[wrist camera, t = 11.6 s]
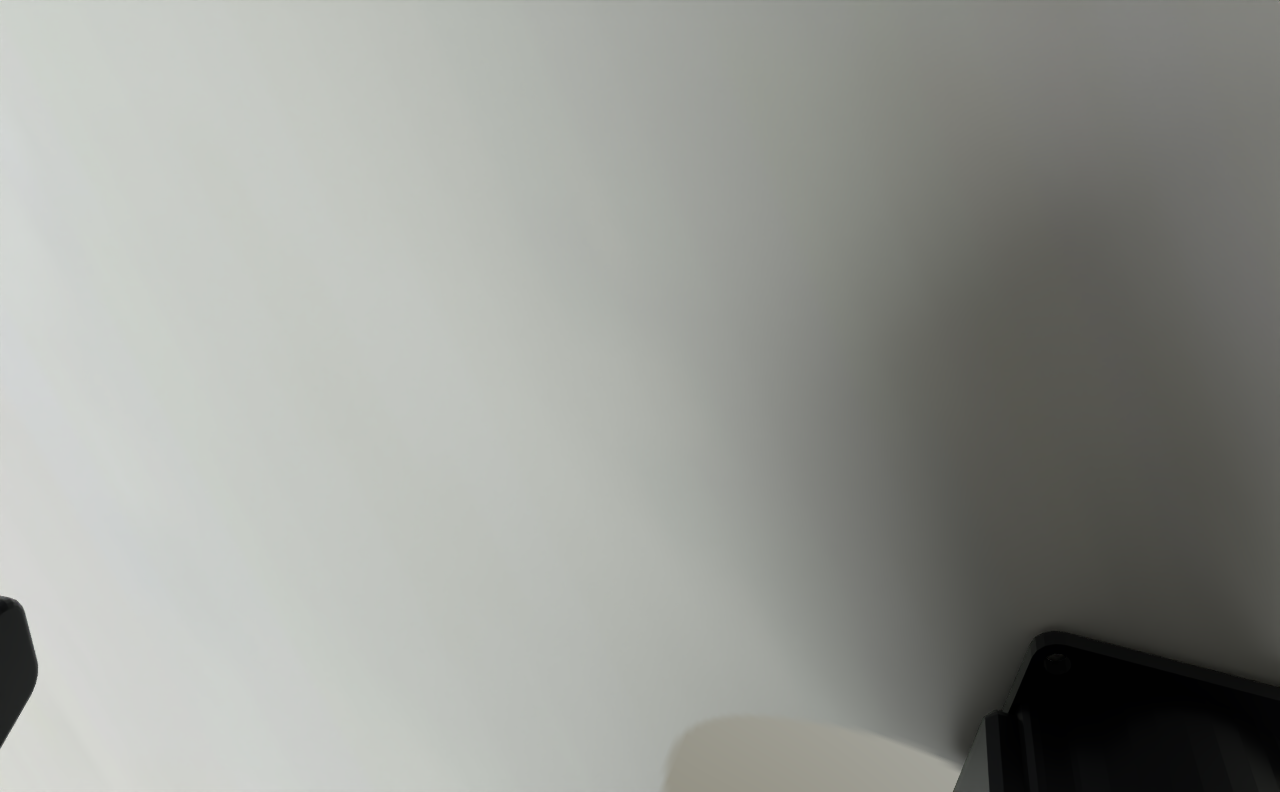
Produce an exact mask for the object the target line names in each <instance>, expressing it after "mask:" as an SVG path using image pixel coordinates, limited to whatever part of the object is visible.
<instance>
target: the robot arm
mask: <svg viewBox="0 0 1280 792" xmlns="http://www.w3.org/2000/svg"><path fill="white" fill-rule="evenodd" d="M1053 654H1062V655H1064V656H1066V658H1065V659H1063V660H1060V661H1051V660H1049V659H1047V657H1048V656H1050V655H1053ZM37 676H38V662H37V658H36V654H35V650H34V646H33V642H32V638H31V634H30V630H29V626H28V623H27V619H26V615H25V611H24V609H23V607H22V605H21V604H20V603H19V602H18V601H17V600H15V599H12V598H9V597H4V596H0V748H1V747H2V745H3V743H4V741H5V740H6V738H7V736H8V734H9V733H10V731H11V729H12V727H13V726H14V724H15V722H16V720H17V719H18V717H19V715H20V713H21V712H22V710H23V708H24V706H25V705H26V703H27V701H28V700H29V698H30V696H31V694H32V692H33V689H34V687H35V684H36V680H37ZM953 792H1280V688H1278V687H1274V686H1271V685H1267V684H1263V683H1259V682H1255V681H1251V680H1247V679H1244V678H1240V677H1236V676H1232V675H1228V674H1224V673H1220V672H1216V671H1213V670H1209V669H1205V668H1201V667H1197V666H1193V665H1189V664H1186V663H1182V662H1178V661H1174V660H1170V659H1166V658H1162V657H1159V656H1155V655H1151V654H1147V653H1143V652H1139V651H1135V650H1132V649H1128V648H1124V647H1120V646H1116V645H1112V644H1108V643H1105V642H1101V641H1097V640H1093V639H1089V638H1085V637H1081V636H1078V635H1074V634H1070V633H1066V632H1060V631H1050V632H1045V633H1042V634H1040V635H1039V636H1037V637H1035V638H1034V640H1033V641H1032V642H1031V644H1030V646H1029V648H1028V650H1027V653H1026V655H1025V658H1024V660H1023V662H1022V665H1021V667H1020V669H1019V672H1018V674H1017V677H1016V679H1015V681H1014V684H1013V686H1012V688H1011V691H1010V693H1009V695H1008V698H1007V700H1006V703H1005V705H1004V707H1003V710H1002V711H998V710H995V711H993V712H991V713H990V714H988V715H987V716H985V717H984V718H983V720H982V722H981V725H980V727H979V730H978V732H977V735H976V737H975V739H974V742H973V744H972V747H971V749H970V752H969V754H968V756H967V759H966V761H965V764H964V766H963V769H962V771H961V773H960V776H959V778H958V781H957V783H956V786H955V788H954V790H953Z"/></svg>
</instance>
